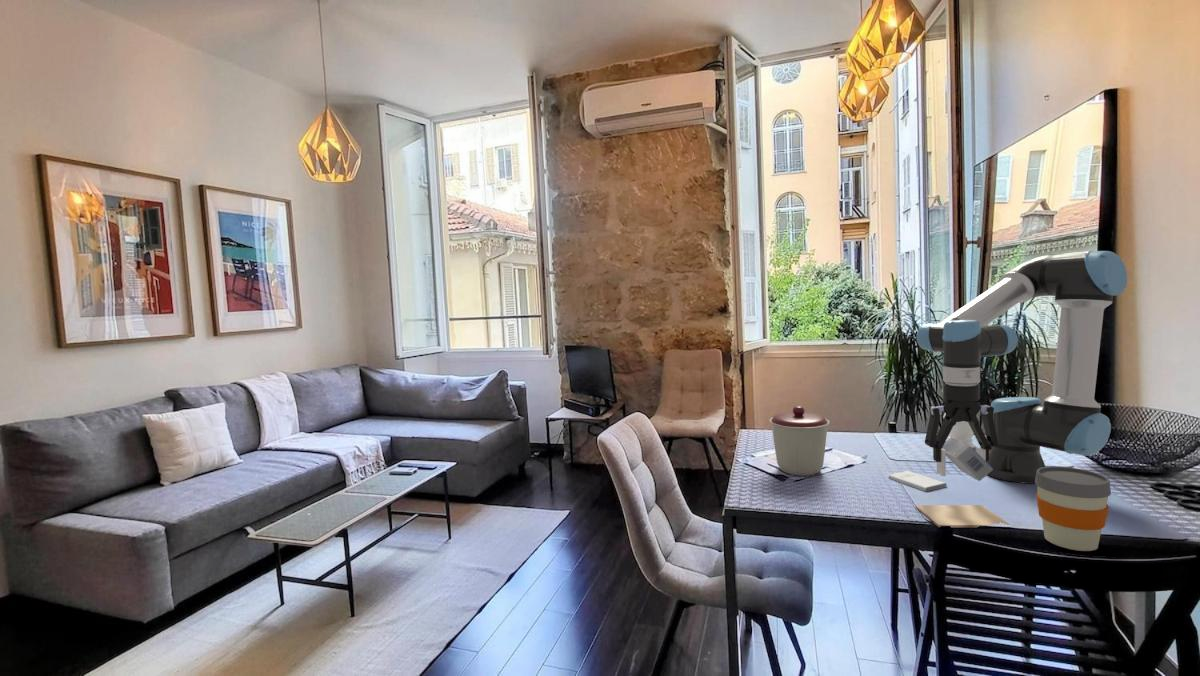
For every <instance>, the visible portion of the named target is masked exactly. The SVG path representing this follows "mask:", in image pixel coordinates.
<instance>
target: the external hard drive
mask: <svg viewBox="0 0 1200 676" xmlns="http://www.w3.org/2000/svg"><path fill="white" fill-rule="evenodd" d="M888 479H889V480H892V481H895V482H898V483H901V484H903V485H906V486H910V487H912V488H915V489H917V490H920V491H923V492H929V491H933V490H937V489H938V490H939V489H942V488H946V487H947V482H944V481H940V480H937V479H934V478H931V477H928V476H925V475H921V474H919V473H915V472H913V471H910V470H905V471H900V472H895V473H890V474H888ZM945 486H946V487H945ZM941 487H942V488H941Z"/></svg>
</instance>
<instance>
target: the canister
mask: <svg viewBox="0 0 1200 676" xmlns="http://www.w3.org/2000/svg"><path fill="white" fill-rule="evenodd" d="M768 422H769V424H770V425H771V429H772V431H771V432H772V439H773V445H774V450H775V458H776V462H777V465H778V468H779V469H780V470H781V471H782V472H784V473H786V474H788V475H791V476H792V475H793V476H800V477H801V476H802V477H805V476H813V475H814V476H815V475H817V474H818V473H820V472H821V471H822V469H823V466H824V461H825V455H826V444H827V443H826V442H827V434H828V426H829V425H830V420H829V419H827V418H826V417H824V416H823V415H820V414H817V413H812V412H805V409H804V407H803V406H801V405H796V406H794V407H793V408H792V411H791V412H790V411H788V412H781V413H778V414H775V415H774V416H772V417H770V418H769V419H768Z"/></svg>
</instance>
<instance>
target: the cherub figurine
mask: <svg viewBox="0 0 1200 676" xmlns="http://www.w3.org/2000/svg"><path fill="white" fill-rule="evenodd" d="M941 392H942V393H943V388H942V389H941ZM945 415H946V413H945V412H944V413H943V416H942V418H943V419H944V417H945ZM950 420H951V419H950ZM973 436H974V433H973V431H972V429H971V427H970V425H969V423H968V422H965V421H961V422H956V424H955V425H954V426H953V428H952V430H951V432H950V434H949V436H948V439H950V438H951V437H952V438H954V439H957V440H959V441H961V442H963V443H965V444H967V445H969V446H971V447H972V448H973V449H976V444H975V443H974V442H973V441H974V440H973V439H972V438H973Z"/></svg>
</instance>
